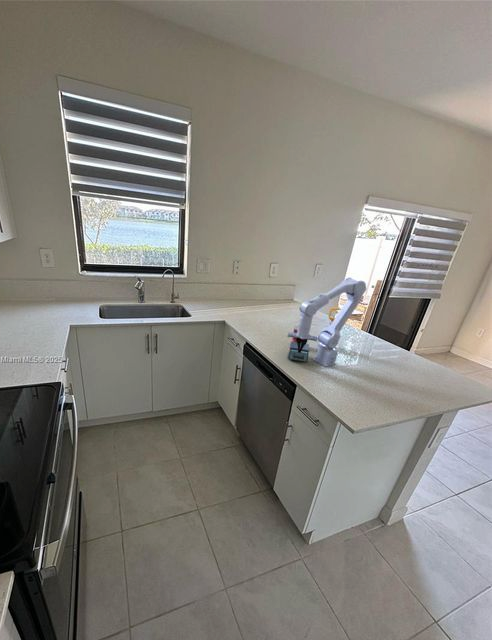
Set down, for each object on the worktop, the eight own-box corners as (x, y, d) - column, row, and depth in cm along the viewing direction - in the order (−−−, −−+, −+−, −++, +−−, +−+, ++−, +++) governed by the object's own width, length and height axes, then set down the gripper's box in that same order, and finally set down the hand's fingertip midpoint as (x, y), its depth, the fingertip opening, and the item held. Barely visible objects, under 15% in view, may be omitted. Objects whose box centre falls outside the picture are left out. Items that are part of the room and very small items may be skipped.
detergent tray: (305, 364, 146) (307, 356, 144) (289, 361, 148) (290, 353, 146) (305, 355, 158) (307, 347, 156) (290, 352, 159) (291, 344, 157)
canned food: (301, 349, 168) (305, 331, 163) (289, 345, 172) (292, 328, 167) (306, 345, 173) (310, 328, 169) (294, 342, 177) (297, 325, 173)
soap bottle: (335, 350, 169) (346, 310, 159) (319, 348, 171) (329, 308, 160) (333, 345, 177) (343, 306, 167) (318, 343, 179) (327, 304, 168)
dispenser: (306, 361, 152) (309, 350, 149) (288, 358, 154) (290, 347, 151) (306, 355, 160) (309, 344, 158) (289, 352, 162) (291, 341, 160)
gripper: (289, 326, 140) (284, 352, 145) (320, 331, 137) (314, 357, 142) (289, 322, 146) (285, 347, 152) (319, 327, 143) (313, 352, 149)
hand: (299, 352), depth 147 cm, fingers closed
